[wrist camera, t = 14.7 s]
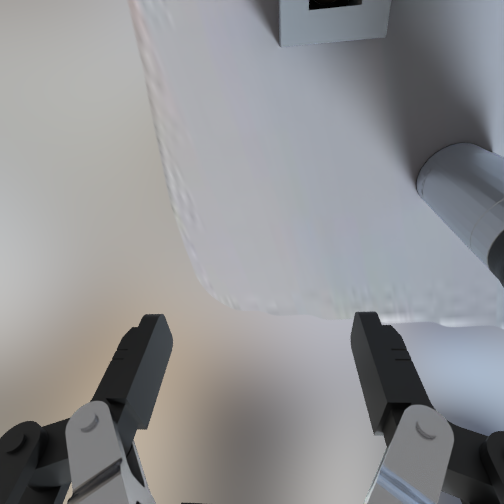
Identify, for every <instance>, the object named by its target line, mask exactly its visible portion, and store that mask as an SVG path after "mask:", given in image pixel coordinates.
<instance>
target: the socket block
mask: <svg viewBox="0 0 504 504" xmlns="http://www.w3.org/2000/svg"><path fill="white" fill-rule="evenodd" d="M391 1H392V0H349V1H348V6H345V7H336V8H326V9H317V10H309V0H279V46H280V47H289V46H299V45H310V44H320V43H331V42H342V41H352V40H363V39H373V38H384V37H386V33H387V27H388V20H389V14H390V8H391Z"/></svg>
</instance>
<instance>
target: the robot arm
mask: <svg viewBox="0 0 504 504" xmlns="http://www.w3.org/2000/svg"><path fill="white" fill-rule="evenodd" d="M417 191H418V193H419V195H420V197H421V198H422V199H423V200H424V201H425V202H426V203H427V204H428V206H429V207H430V208H431V209H432V210H433V211H434V212H435V213H436V214H437V215H438V216H439V217H440V218H441V219H442V220H443V222H444V223H445V224H446V225H447V226H448V227H449V228H450V229H451V230H452V231H453V232H454V233H455V234H456V235H457V236H458V237H459V238H460V239H461V240H462V242H463V243H464V244H465V245H466V246H467V247H468V248H469V249H470V250H471V251H472V252H473V253H474V254H475V255H476V256H477V257H478V258H479V259H480V260H481V261H482V262H483V263H484V265H485V266H486V267H487V268H488V269H489V270H490V271H491V272H492V273H493V274H494V275H495V276H496V277H497V278H498V279H499V281H500V282H501V284H502V286H503V287H504V157H502V156H500V155H498V154H496V153H494V152H489V151H487V150H485V149H483V148H481V147H479V146H477V145H475V144H471V143H458V144H454V145H450V146H448V147H446V148H443V149H442V150H440V151H439V152H437V153H436V154H434V155H433V156H432V157H431V158H430V159H429V160H428V161H427V162H426V163H425V164H424V166H423V167H422V169H421V171H420V173H419V175H418V178H417ZM172 347H173V338H172V334H171V332H170V329H169V326H168V324H167V321H166V319H165V316H164V315H163V314H149V315H148V314H146V315H144V316H143V318H142V319H141V322H140V324H139V326H138V327H132V328H131V329H130V330H129V331H128V332H127V333H126V334H125V336H124V337H123V338H122V340H121V342H120V344H119V346H118V348H117V351H116V352H115V354H114V356H113V358H112V361H111V362H110V364H109V366H108V368H107V370H106V372H105V374H104V376H103V378H102V380H101V382H100V384H99V386H98V388H97V390H96V392H95V394H94V396H93V398H92V400H91V401H90V402H89V403H87V404H85V405H83V406H82V407H80V408H79V409H78V410H77V411H76V412H75V413H74V414H73V415H72V417H71V418H68V419H65V420H62V421H59V422H56V423H53V424H50V425H47V426H43V427H41V426H40V425H39V424H37V423H36V422H34V421H26V422H23V423H20V424H18V425H16V426H14V427H13V428H11V429H10V430H9V431H7V432H6V433H5V434H4V435H3V436H2V437H1V438H0V504H63V501H64V499H65V496H66V494H67V491H68V489H69V486H70V484H71V482H72V488H73V495H72V497H71V498H70V499H69V500H68V502H67V504H156V503H155V501H154V498H153V497H152V495H151V492H150V490H149V488H148V484H147V481H146V478H145V475H144V471H143V468H142V465H141V462H140V458H139V455H138V452H137V449H136V446H135V443H134V440H133V439H134V436H135V433H136V430H137V429H147V428H148V424H149V421H150V418H151V415H152V412H153V408H154V405H155V402H156V399H157V396H158V393H159V390H160V386H161V383H162V379H163V377H164V374H165V370H166V367H167V364H168V361H169V358H170V354H171V351H172ZM351 348H352V352H353V356H354V360H355V364H356V368H357V371H358V375H359V379H360V383H361V387H362V390H363V394H364V398H365V402H366V406H367V410H368V413H369V417H370V421H371V425H372V429H373V432H374V435H382V436H384V438H385V442H386V445H387V448H386V451H385V453H384V455H383V458H382V460H381V462H380V465H379V467H378V470H377V472H376V475H375V477H374V479H373V482H372V485H371V487H370V489H369V492H368V494H367V496H366V499H365V501H364V503H363V504H438V500H439V497H440V493H441V491H443V492H445V493H448V494H450V495H453V496H455V497H458V498H460V499H461V502H462V504H504V431H498V432H494V433H492V434H491V435H490V436H489V437H488V436H485V435H482V434H479V433H476V432H473V431H470V430H467V429H464V428H461V427H459V426H456V425H454V424H452V423H450V422H449V421H447V420H446V419H445V418H444V417H443V416H442V415H441V414H440V413H438V412H437V411H436V410H435V409H434V407H433V406H432V404H431V402H430V400H429V398H428V396H427V394H426V391H425V389H424V387H423V385H422V382H421V380H420V378H419V375H418V373H417V371H416V369H415V367H414V364H413V362H412V361H411V357H410V355H409V353H408V351H407V349H406V346H405V344H404V341H403V339H402V337H401V335H400V334H398V332H397V331H396V330H395V329H394V328H393V327H392V326H391V325H381V322H380V319H379V317H378V314H377V313H376V312H356V313H355V316H354V322H353V327H352V332H351ZM181 504H200V503H181Z"/></svg>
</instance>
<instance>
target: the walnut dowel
mask: <svg viewBox="0 0 504 504" xmlns="http://www.w3.org/2000/svg"><path fill="white" fill-rule="evenodd" d="M314 1H315V2H317V3H318V4H321V5H327V4H330V3H332V2H334V1H336V0H314Z"/></svg>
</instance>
